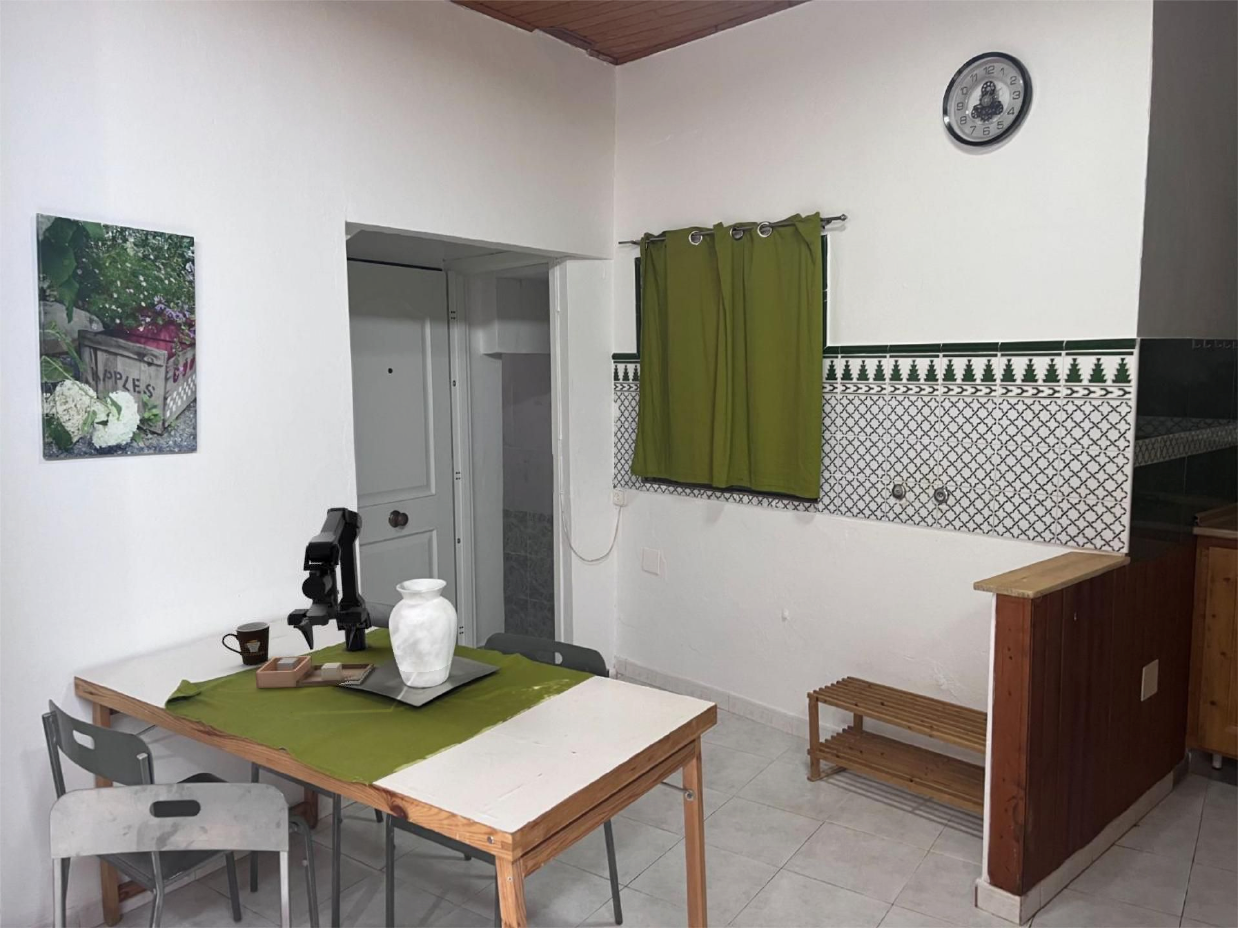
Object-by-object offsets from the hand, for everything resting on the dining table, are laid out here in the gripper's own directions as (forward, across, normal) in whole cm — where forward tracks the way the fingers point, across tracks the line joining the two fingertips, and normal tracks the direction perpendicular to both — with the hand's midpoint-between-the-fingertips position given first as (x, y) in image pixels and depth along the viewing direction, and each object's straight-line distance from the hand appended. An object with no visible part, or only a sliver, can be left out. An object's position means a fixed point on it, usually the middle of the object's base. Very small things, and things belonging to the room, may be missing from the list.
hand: (330, 648), depth 228 cm
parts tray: (+9, 0, +3) cm, 9 cm away
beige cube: (+8, 0, 0) cm, 8 cm away
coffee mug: (+9, -29, +19) cm, 36 cm away
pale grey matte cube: (+8, -13, +5) cm, 16 cm away
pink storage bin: (+9, -13, +2) cm, 16 cm away
